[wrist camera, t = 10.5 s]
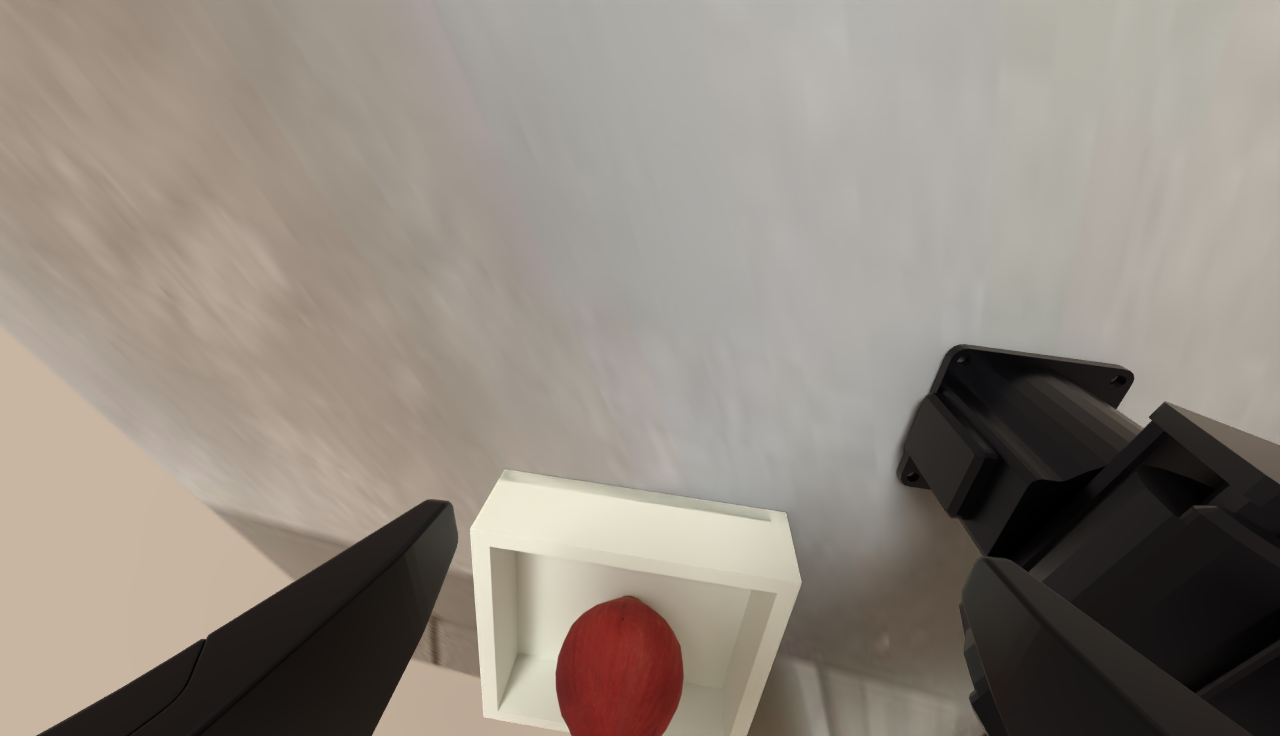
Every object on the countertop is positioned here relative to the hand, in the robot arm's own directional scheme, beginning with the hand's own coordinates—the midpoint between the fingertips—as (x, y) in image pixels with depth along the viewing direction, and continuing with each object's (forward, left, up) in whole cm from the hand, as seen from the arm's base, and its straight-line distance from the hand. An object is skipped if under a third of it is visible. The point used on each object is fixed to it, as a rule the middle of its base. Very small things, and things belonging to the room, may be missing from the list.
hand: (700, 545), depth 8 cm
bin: (+1, +16, -12) cm, 20 cm away
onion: (+1, +16, -11) cm, 20 cm away
